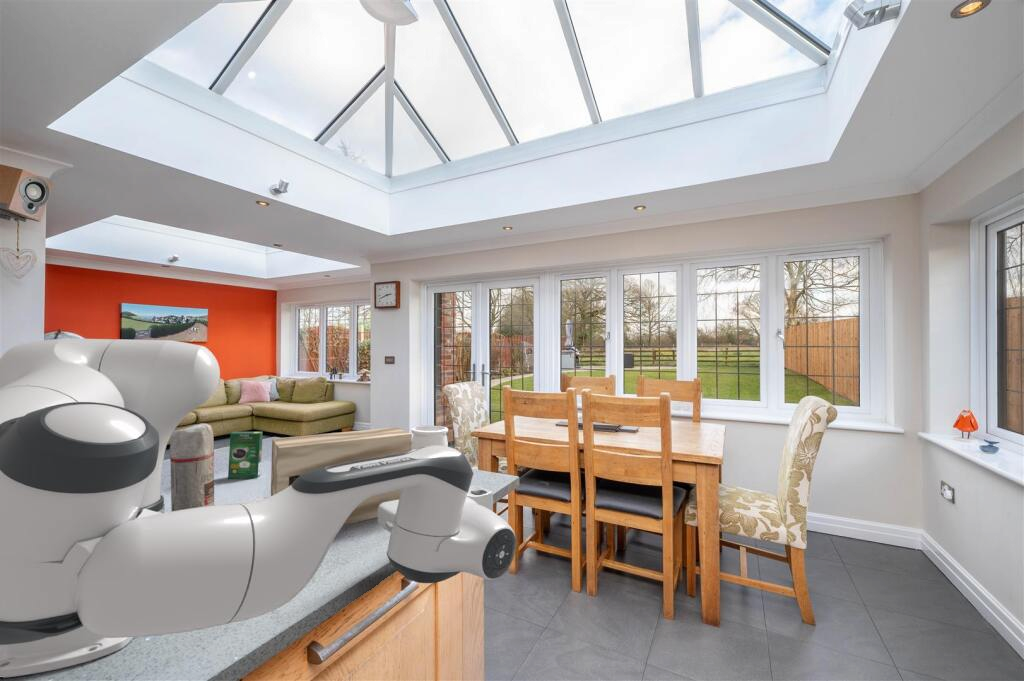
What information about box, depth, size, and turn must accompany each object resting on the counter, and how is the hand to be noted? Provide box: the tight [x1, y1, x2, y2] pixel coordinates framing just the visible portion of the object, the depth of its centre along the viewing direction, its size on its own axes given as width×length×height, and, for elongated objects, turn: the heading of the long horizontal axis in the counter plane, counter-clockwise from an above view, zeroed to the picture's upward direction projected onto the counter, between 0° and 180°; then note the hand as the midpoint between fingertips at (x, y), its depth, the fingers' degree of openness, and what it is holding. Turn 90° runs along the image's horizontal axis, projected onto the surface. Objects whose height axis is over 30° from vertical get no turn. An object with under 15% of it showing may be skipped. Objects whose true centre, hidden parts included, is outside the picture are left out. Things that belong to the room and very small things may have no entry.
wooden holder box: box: [270, 426, 413, 525], centre depth 98 cm, size 10×28×18 cm, turn 125°
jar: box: [411, 425, 449, 451], centre depth 126 cm, size 11×10×15 cm
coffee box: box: [227, 431, 263, 479], centre depth 125 cm, size 8×3×13 cm, turn 103°
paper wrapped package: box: [168, 423, 215, 512], centre depth 98 cm, size 8×8×20 cm
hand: (418, 495), depth 86 cm, fingers closed
